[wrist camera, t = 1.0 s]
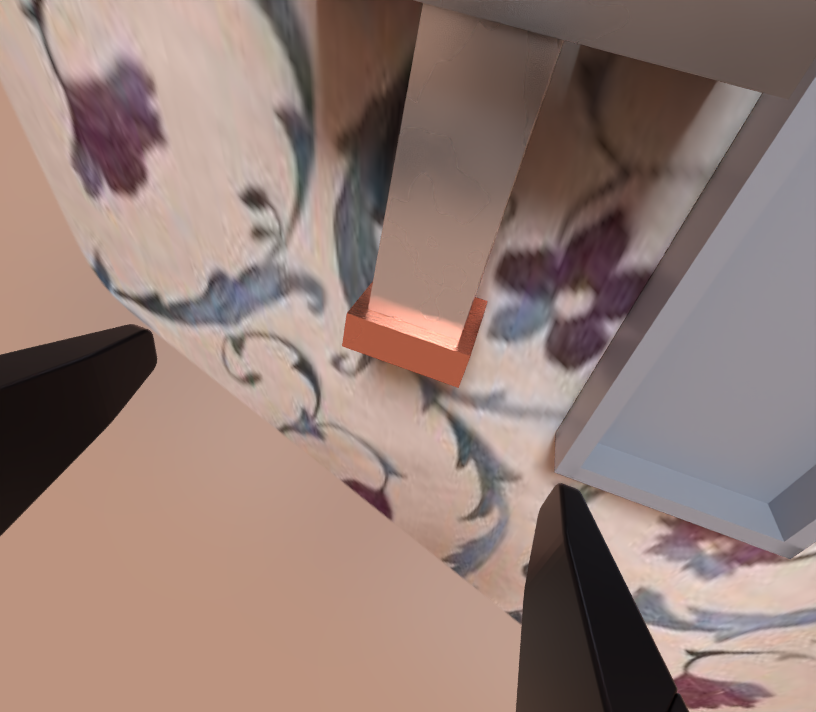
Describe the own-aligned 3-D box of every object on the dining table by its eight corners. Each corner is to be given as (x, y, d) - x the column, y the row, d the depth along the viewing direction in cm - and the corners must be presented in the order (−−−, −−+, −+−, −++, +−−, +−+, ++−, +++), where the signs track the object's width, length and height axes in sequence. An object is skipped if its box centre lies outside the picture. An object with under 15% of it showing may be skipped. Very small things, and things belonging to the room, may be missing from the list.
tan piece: (479, -223, 11) (441, -335, 8) (666, -184, 11) (711, -287, 7) (379, 296, 20) (342, 346, 17) (477, 329, 20) (458, 387, 16)
